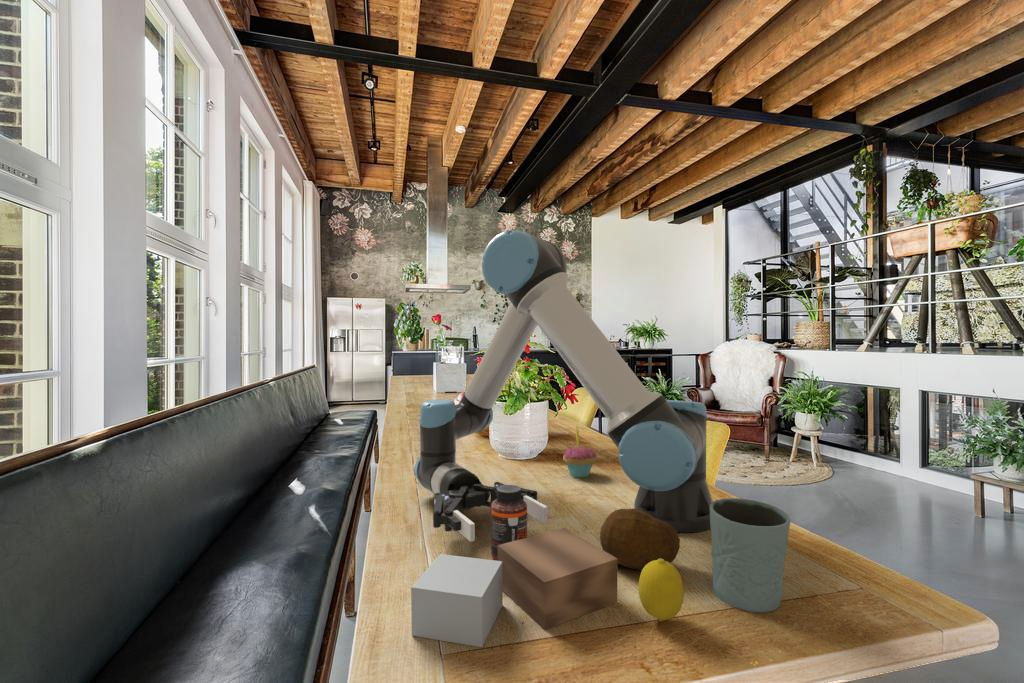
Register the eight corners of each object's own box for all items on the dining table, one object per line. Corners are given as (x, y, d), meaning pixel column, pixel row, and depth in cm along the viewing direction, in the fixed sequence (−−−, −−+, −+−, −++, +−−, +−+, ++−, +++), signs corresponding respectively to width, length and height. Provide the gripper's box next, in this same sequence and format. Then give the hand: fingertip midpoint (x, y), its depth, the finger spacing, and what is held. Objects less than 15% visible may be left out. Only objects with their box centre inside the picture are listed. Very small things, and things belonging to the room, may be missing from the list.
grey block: (502, 605, 67) (502, 561, 66) (482, 647, 58) (481, 597, 58) (440, 596, 69) (440, 553, 69) (411, 635, 60) (411, 587, 60)
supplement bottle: (523, 567, 77) (523, 495, 77) (486, 563, 78) (486, 493, 78) (530, 550, 83) (529, 483, 83) (495, 547, 84) (495, 481, 84)
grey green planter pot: (728, 570, 76) (729, 493, 75) (800, 597, 68) (802, 511, 68) (695, 594, 69) (695, 509, 69) (771, 627, 62) (772, 532, 61)
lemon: (674, 607, 66) (674, 548, 66) (690, 633, 60) (690, 569, 60) (633, 608, 66) (633, 549, 65) (645, 635, 60) (646, 570, 60)
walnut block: (564, 565, 78) (564, 527, 77) (617, 602, 67) (617, 558, 67) (497, 586, 71) (497, 545, 71) (544, 630, 61) (544, 582, 61)
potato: (671, 588, 71) (671, 528, 70) (591, 569, 76) (591, 513, 76) (680, 563, 78) (681, 508, 78) (607, 547, 84) (607, 496, 84)
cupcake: (557, 471, 127) (557, 425, 127) (587, 468, 130) (587, 423, 129) (571, 481, 119) (571, 432, 119) (603, 478, 122) (603, 429, 121)
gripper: (511, 494, 104) (572, 530, 86) (395, 518, 91) (438, 566, 73) (511, 458, 104) (572, 487, 86) (394, 477, 91) (437, 516, 73)
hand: (510, 523), depth 79 cm, fingers open, 13 cm apart
